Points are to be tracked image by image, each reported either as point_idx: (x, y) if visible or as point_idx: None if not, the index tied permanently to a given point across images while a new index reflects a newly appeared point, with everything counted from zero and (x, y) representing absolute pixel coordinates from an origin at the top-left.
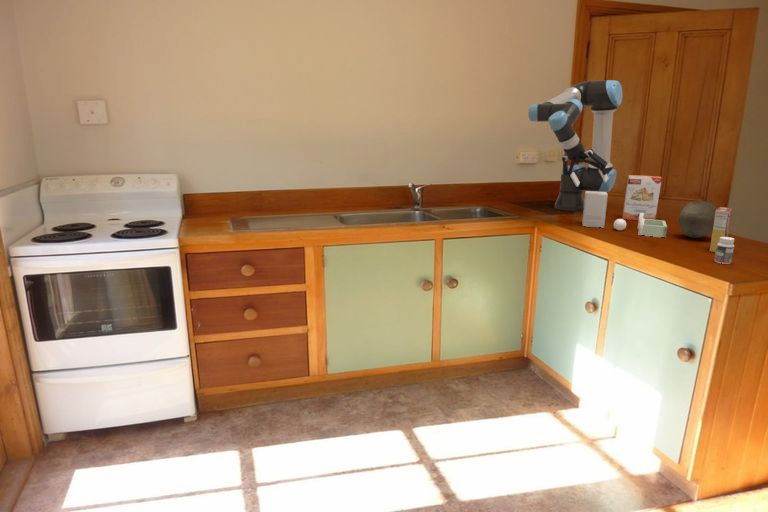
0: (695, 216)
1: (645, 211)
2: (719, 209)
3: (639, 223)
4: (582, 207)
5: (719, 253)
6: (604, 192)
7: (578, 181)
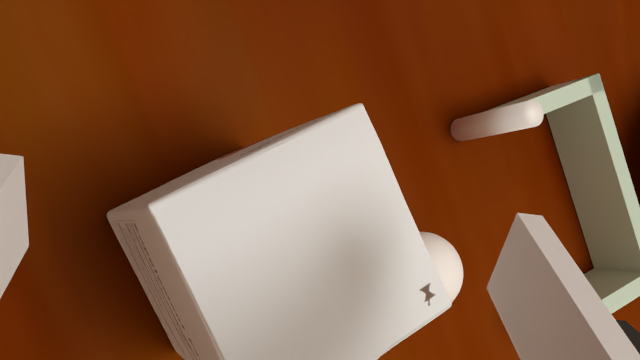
0: None
1: None
2: None
3: (483, 136)
4: None
5: None
6: (377, 184)
7: (6, 201)
